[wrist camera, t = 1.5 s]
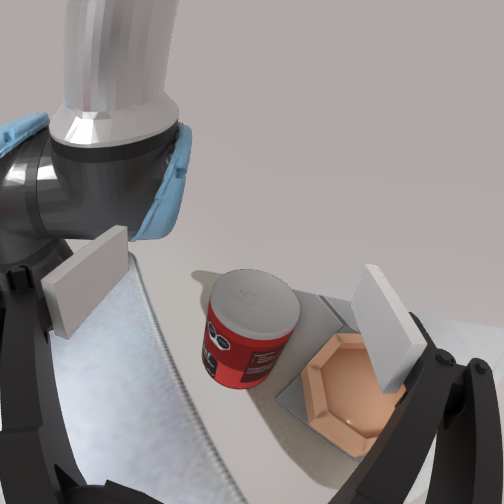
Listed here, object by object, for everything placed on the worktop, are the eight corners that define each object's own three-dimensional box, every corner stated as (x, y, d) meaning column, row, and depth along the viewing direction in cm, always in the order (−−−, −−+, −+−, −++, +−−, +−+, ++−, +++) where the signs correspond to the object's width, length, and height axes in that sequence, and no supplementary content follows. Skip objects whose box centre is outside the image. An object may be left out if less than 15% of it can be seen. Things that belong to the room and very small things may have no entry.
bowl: (275, 397, 27) (280, 390, 26) (345, 323, 38) (350, 314, 37) (384, 476, 20) (394, 472, 19) (428, 384, 31) (436, 376, 30)
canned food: (210, 327, 34) (222, 259, 27) (273, 344, 34) (302, 281, 27) (192, 380, 28) (199, 319, 21) (264, 398, 28) (299, 345, 21)
